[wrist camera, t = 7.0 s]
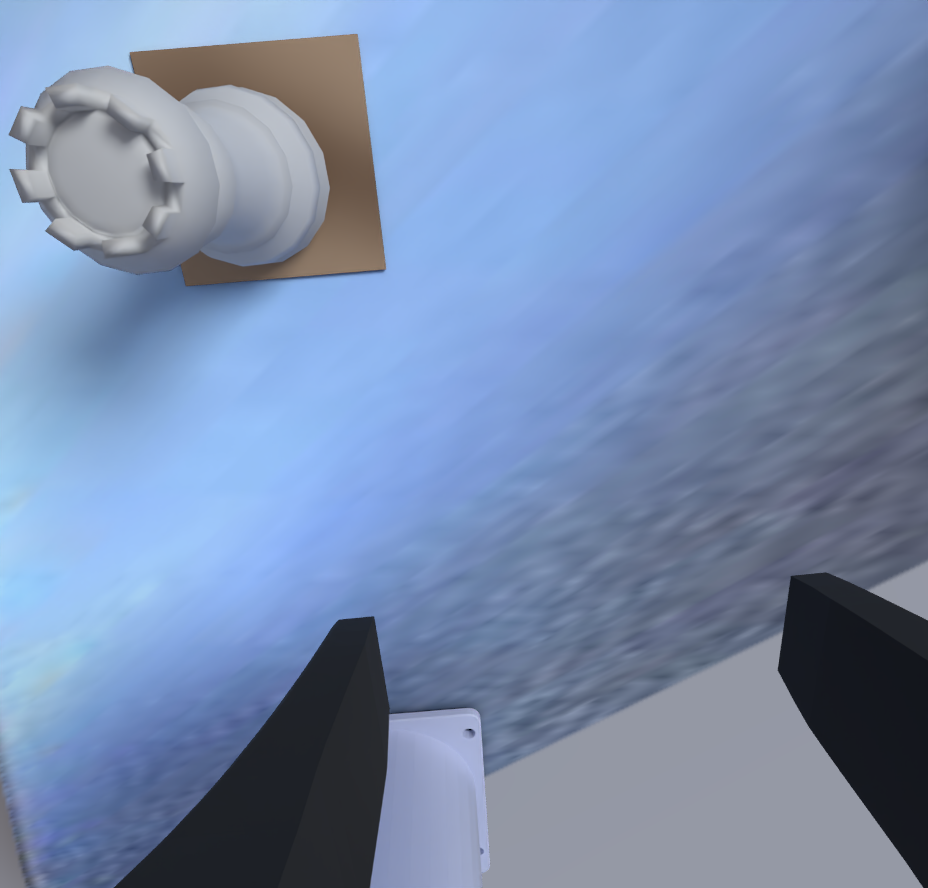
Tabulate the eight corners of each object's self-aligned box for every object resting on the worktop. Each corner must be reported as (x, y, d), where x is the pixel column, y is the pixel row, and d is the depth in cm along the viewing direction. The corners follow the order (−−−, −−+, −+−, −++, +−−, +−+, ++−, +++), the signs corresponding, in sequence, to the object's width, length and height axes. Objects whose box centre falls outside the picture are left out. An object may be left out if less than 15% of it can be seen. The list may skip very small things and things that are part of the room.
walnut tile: (387, 267, 18) (385, 269, 18) (193, 284, 18) (185, 286, 18) (359, 40, 16) (357, 33, 16) (140, 58, 16) (129, 52, 16)
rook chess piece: (334, 269, 18) (244, 326, 10) (182, 257, 17) (-20, 307, 10) (332, 97, 16) (223, 19, 9) (163, 82, 16) (-98, -11, 8)
